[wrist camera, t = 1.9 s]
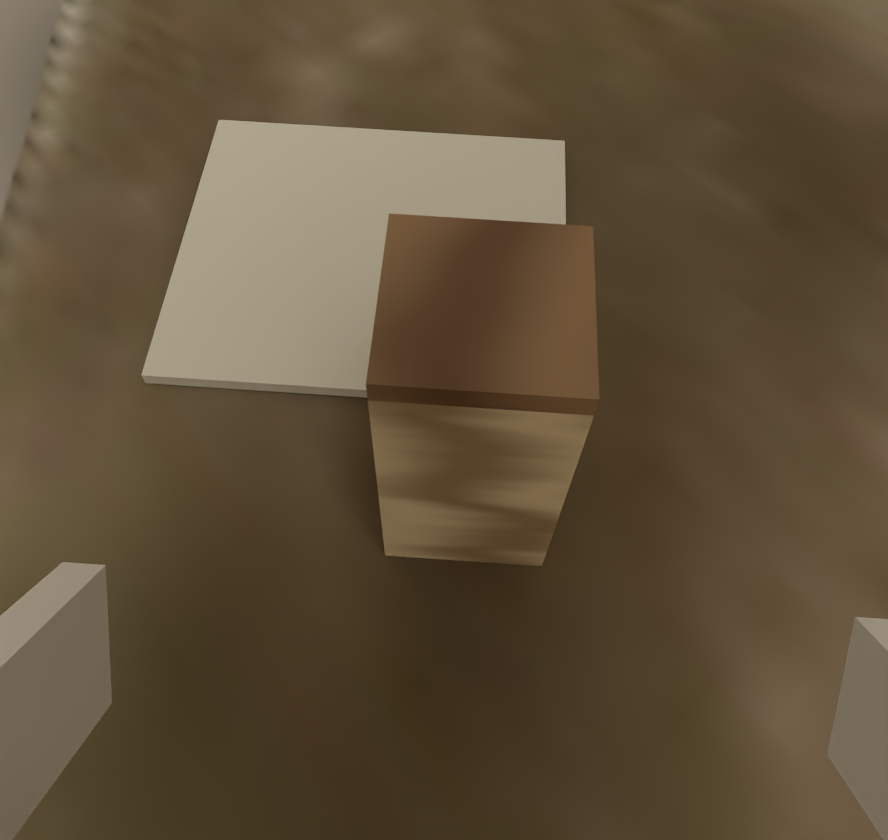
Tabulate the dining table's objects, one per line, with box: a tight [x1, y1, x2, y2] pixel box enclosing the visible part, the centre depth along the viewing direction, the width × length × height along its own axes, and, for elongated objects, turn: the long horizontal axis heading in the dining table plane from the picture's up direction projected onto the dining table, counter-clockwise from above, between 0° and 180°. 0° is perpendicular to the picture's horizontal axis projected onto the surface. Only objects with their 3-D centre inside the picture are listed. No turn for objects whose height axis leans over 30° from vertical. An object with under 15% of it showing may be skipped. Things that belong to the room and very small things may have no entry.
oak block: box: [366, 213, 600, 566], centre depth 28 cm, size 6×6×12 cm
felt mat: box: [141, 120, 566, 398], centre depth 39 cm, size 18×16×1 cm
